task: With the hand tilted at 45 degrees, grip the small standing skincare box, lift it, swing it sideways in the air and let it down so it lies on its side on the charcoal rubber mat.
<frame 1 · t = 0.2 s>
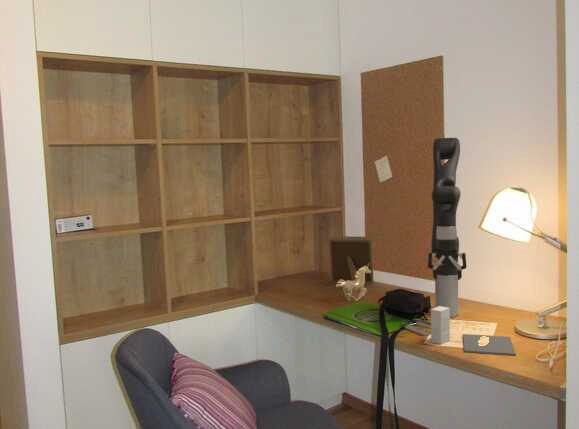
hand: (447, 279, 218), 18 cm above the table, tool pointing down, fingers open, 8 cm apart
charcoal mat: (487, 345, 195), on the table
skincare box: (440, 341, 200), on the table
photo frame: (351, 284, 292), on the table
unicorn: (354, 301, 259), on the table
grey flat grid: (421, 330, 215), on the table
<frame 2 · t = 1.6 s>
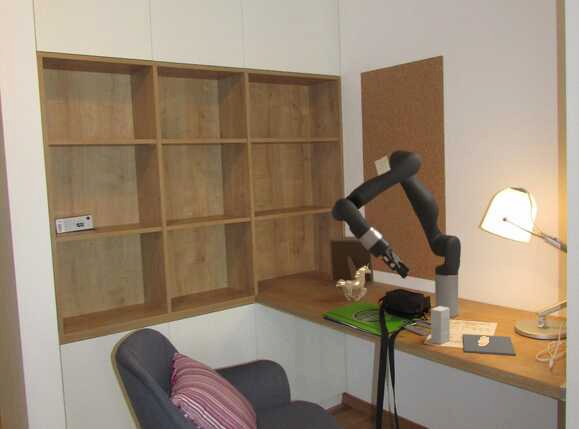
hand: (406, 274, 201), 24 cm above the table, tool tilted 45°, fingers open, 8 cm apart
nothing on the table moved.
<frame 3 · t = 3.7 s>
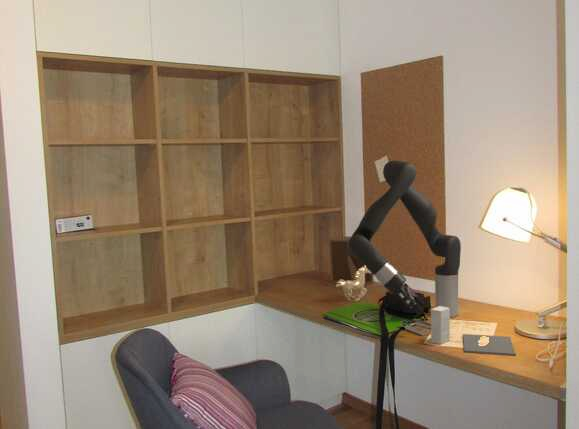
hand: (422, 310, 201), 11 cm above the table, tool tilted 45°, fingers open, 8 cm apart
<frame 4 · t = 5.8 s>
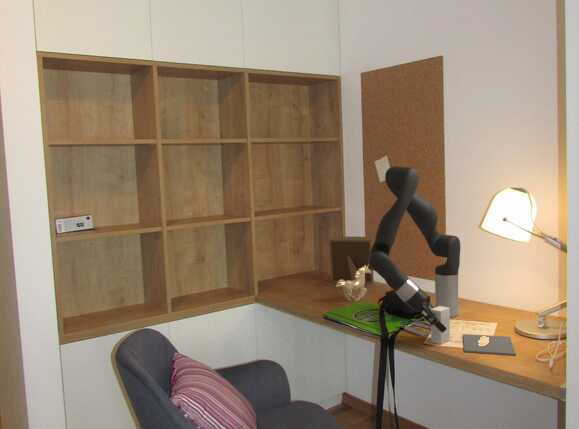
hand: (444, 327, 199), 5 cm above the table, tool tilted 45°, fingers closed on skincare box, 7 cm apart
skincare box: (440, 341, 200), on the table, touching gripper
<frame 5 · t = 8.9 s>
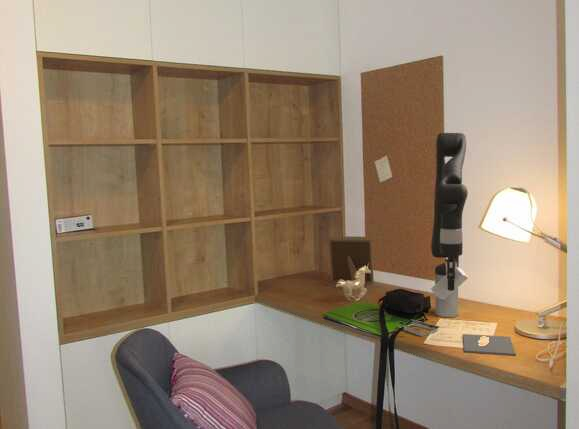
hand: (451, 287, 197), 20 cm above the table, tool pointing down, fingers closed on skincare box, 7 cm apart
skincare box: (436, 294, 199), point 17 cm above the table, touching gripper
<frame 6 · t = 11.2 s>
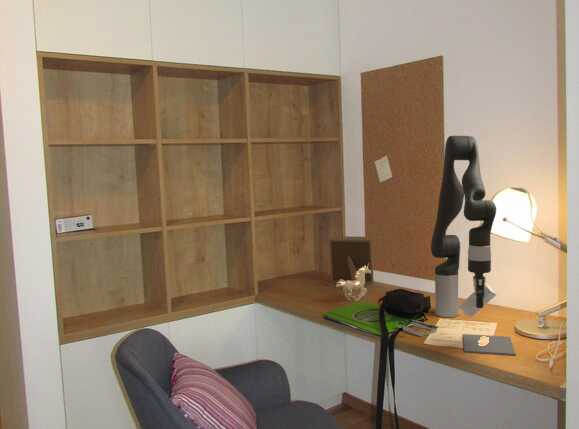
hand: (479, 304, 195), 14 cm above the table, tool pointing down, fingers closed on skincare box, 7 cm apart
skincare box: (464, 311, 197), point 11 cm above the table, touching gripper
when the fingers open (7 cm above the table, at t = 13.1 s): skincare box drops 1 cm, resting on charcoal mat.
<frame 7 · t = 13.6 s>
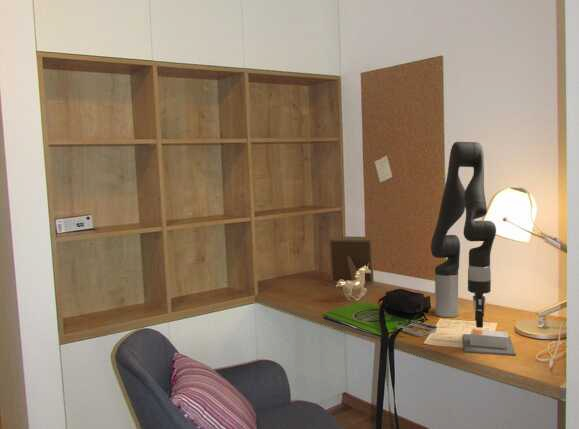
hand: (478, 323, 196), 7 cm above the table, tool pointing down, fingers open, 8 cm apart
skincare box: (470, 336, 196), point 3 cm above the table, touching charcoal mat
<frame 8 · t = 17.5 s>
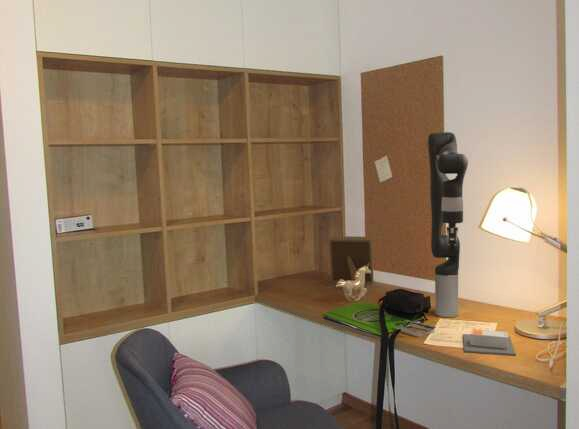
hand: (452, 253, 205), 30 cm above the table, tool pointing down, fingers open, 8 cm apart
at the end: skincare box tilted 91°; skincare box touching charcoal mat; skincare box 6.0 cm from the charcoal mat (horizontally) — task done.
